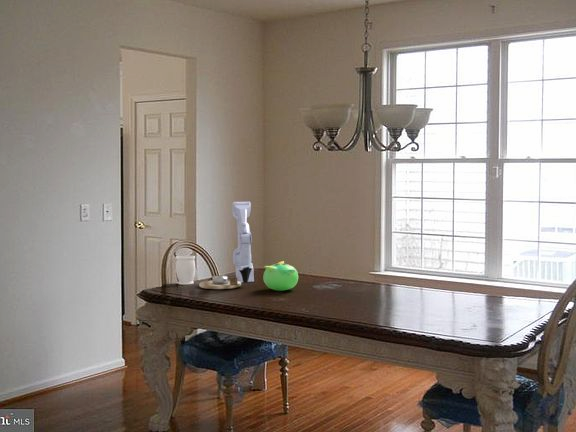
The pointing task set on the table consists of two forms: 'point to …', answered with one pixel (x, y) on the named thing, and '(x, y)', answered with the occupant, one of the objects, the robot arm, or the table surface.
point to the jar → (185, 269)
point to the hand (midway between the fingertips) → (245, 282)
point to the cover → (220, 280)
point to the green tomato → (280, 276)
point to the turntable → (231, 284)
